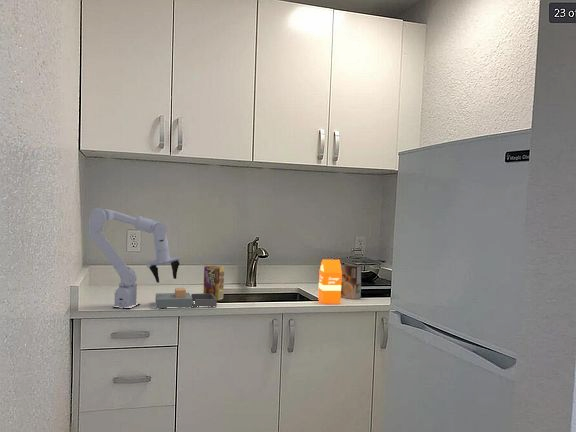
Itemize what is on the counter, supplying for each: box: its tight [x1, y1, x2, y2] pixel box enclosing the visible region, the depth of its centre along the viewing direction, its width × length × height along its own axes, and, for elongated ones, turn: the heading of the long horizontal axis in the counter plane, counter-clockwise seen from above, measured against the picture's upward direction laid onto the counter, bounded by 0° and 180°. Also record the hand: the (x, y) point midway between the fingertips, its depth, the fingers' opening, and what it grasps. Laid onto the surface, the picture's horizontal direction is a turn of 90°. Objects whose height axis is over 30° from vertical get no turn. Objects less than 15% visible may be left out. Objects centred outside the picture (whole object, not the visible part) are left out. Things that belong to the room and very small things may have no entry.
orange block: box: [174, 287, 187, 297], centre depth 222 cm, size 4×6×3 cm, turn 18°
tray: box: [190, 292, 218, 308], centre depth 225 cm, size 10×13×4 cm
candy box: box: [203, 264, 225, 301], centre depth 238 cm, size 9×4×15 cm, turn 62°
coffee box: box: [340, 263, 363, 300], centre depth 253 cm, size 9×6×16 cm
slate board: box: [155, 292, 193, 309], centre depth 222 cm, size 14×13×4 cm
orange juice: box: [317, 259, 342, 304], centre depth 241 cm, size 8×9×20 cm
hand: (166, 280), depth 222 cm, fingers open, 7 cm apart
